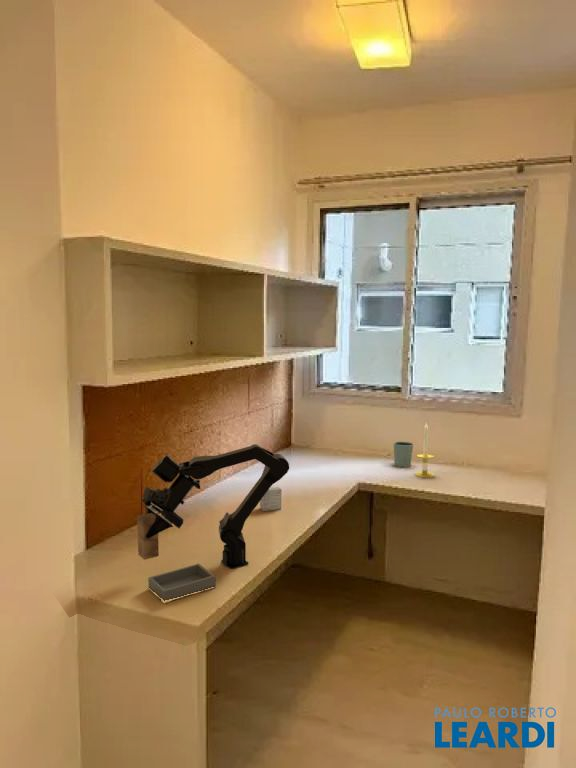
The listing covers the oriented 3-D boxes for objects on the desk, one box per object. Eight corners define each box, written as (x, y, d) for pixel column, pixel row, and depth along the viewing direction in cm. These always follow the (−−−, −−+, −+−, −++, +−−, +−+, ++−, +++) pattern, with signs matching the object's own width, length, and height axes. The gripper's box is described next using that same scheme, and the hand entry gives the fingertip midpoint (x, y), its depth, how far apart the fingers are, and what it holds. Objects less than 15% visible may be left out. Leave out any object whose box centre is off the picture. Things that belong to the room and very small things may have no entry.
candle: (412, 472, 289) (414, 420, 286) (432, 472, 289) (434, 420, 285) (417, 477, 279) (418, 423, 276) (437, 477, 279) (439, 423, 276)
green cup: (389, 464, 304) (389, 442, 302) (404, 462, 309) (404, 440, 307) (401, 468, 295) (402, 446, 294) (416, 466, 300) (417, 444, 298)
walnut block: (152, 551, 172) (151, 512, 171) (158, 556, 168) (157, 517, 167) (138, 554, 169) (137, 516, 168) (144, 559, 166) (143, 520, 164)
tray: (198, 574, 172) (198, 563, 171) (215, 587, 163) (215, 576, 163) (148, 589, 162) (148, 577, 162) (163, 603, 154) (163, 591, 154)
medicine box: (277, 506, 235) (278, 485, 234) (281, 509, 231) (281, 488, 230) (259, 508, 232) (259, 487, 231) (263, 511, 228) (263, 490, 227)
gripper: (146, 470, 176) (112, 511, 171) (172, 484, 161) (136, 530, 156) (170, 490, 182) (138, 531, 176) (197, 505, 167) (163, 550, 161)
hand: (143, 535), depth 167 cm, fingers closed on walnut block, 4 cm apart
